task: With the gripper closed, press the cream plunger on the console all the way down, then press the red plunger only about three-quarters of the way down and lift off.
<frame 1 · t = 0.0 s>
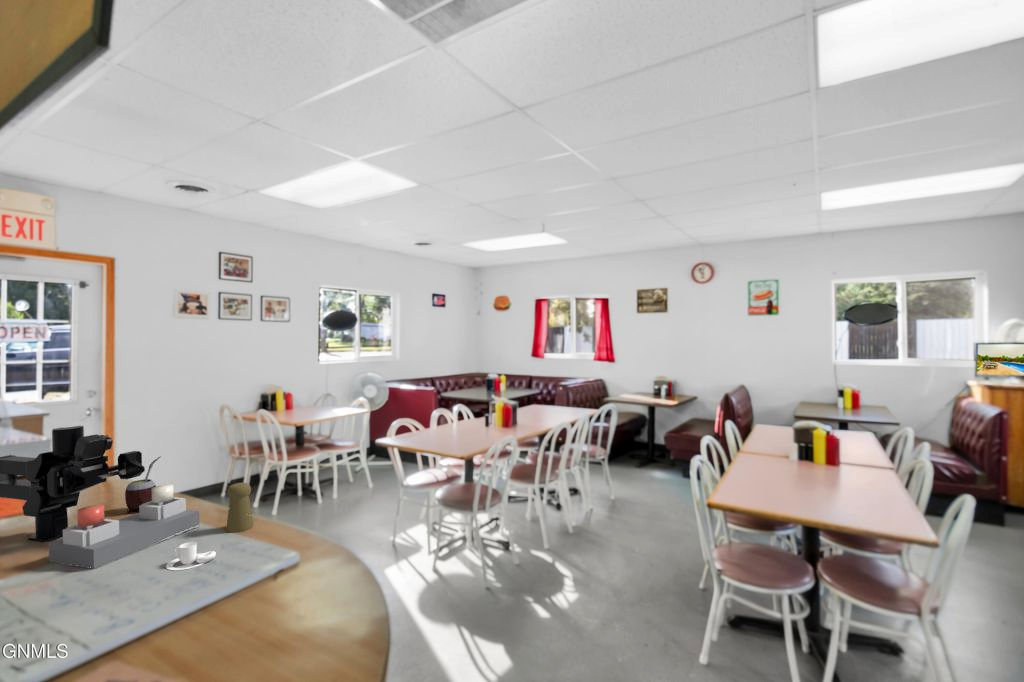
hand: (123, 474, 114), 17 cm above the counter, tool horizontal, fingers open, 9 cm apart
mate gourd: (143, 510, 140), on the counter
console: (130, 542, 116), on the counter
red plunger: (91, 515, 109), point 9 cm above the counter, slide at 0.0 cm
cork: (240, 528, 124), on the counter
cream plunger: (162, 493, 124), point 9 cm above the counter, slide at 0.0 cm
teacup and saucer: (190, 570, 102), on the counter
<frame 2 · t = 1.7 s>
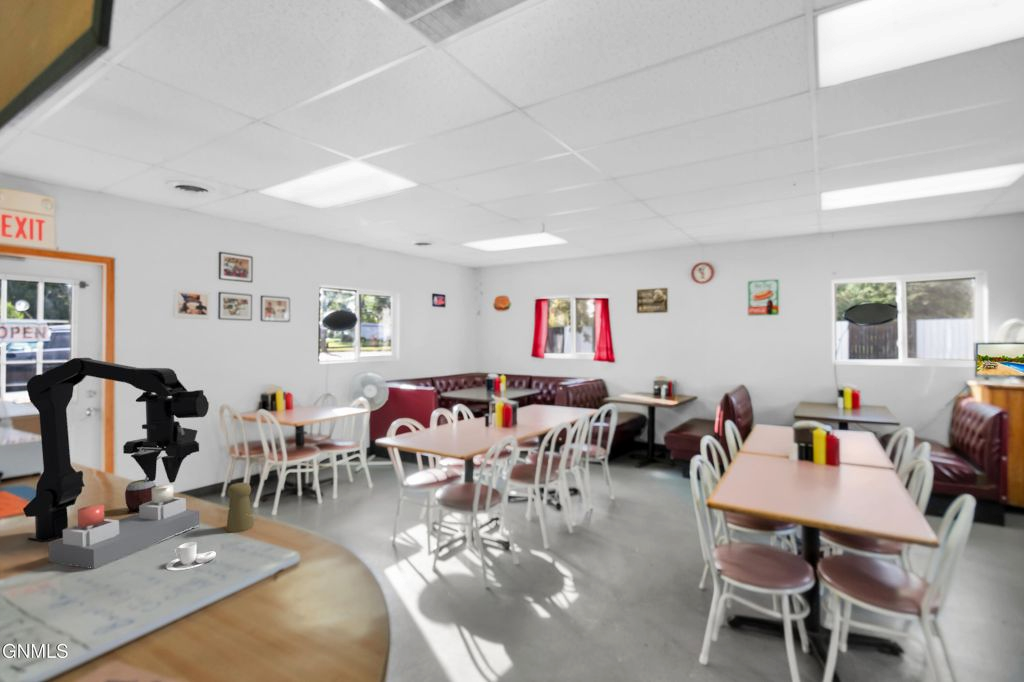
hand: (162, 481, 124), 12 cm above the counter, tool pointing down, fingers open, 6 cm apart
nothing on the counter moved.
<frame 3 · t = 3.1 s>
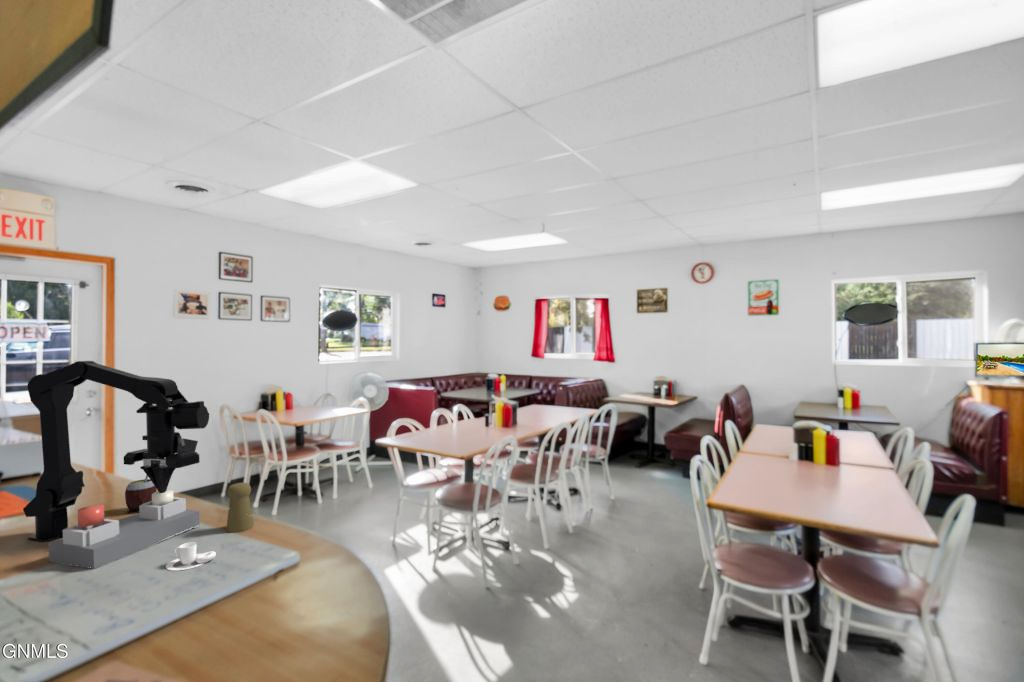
hand: (162, 492, 124), 9 cm above the counter, tool pointing down, fingers closed, pressing on cream plunger
cream plunger: (162, 499, 124), point 8 cm above the counter, slide at 1.4 cm, touching gripper
everything else where it was.
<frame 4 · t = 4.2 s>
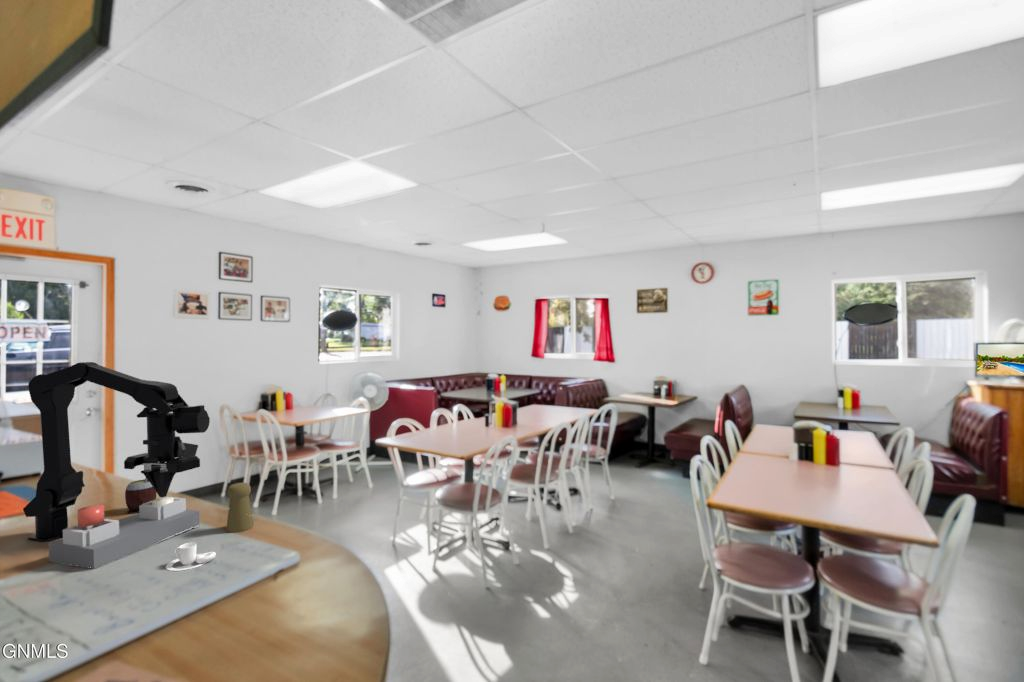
hand: (163, 496, 124), 8 cm above the counter, tool pointing down, fingers closed
cream plunger: (163, 506, 124), point 6 cm above the counter, slide at 3.2 cm
everything else where it was.
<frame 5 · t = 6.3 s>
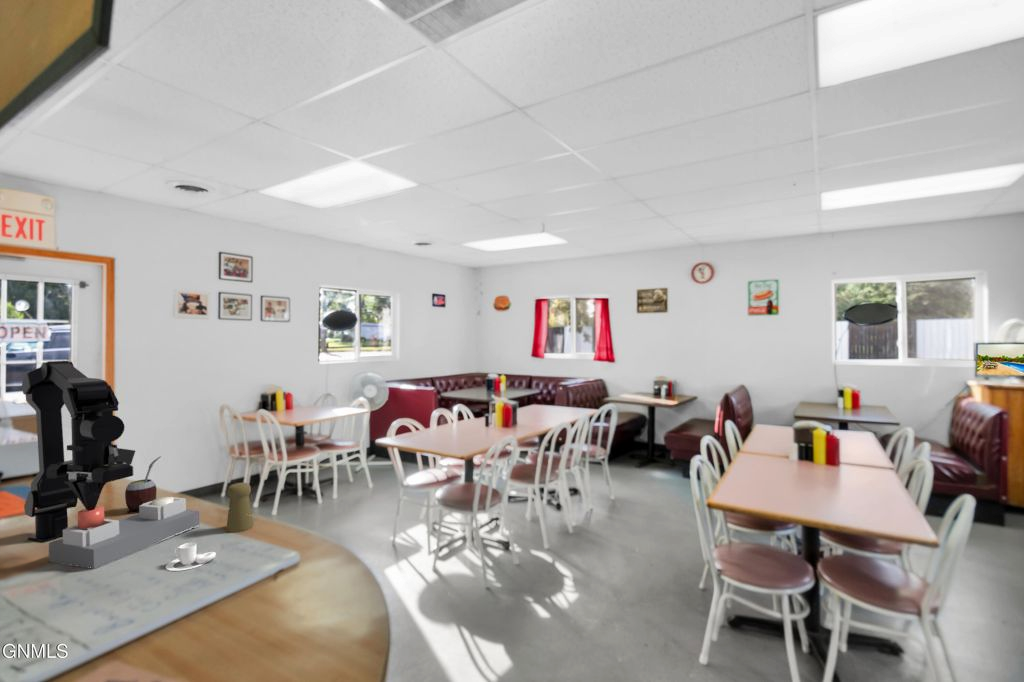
hand: (91, 510, 109), 10 cm above the counter, tool pointing down, fingers closed, pressing on red plunger
red plunger: (91, 517, 109), point 9 cm above the counter, slide at 0.4 cm, touching gripper
everything else where it was.
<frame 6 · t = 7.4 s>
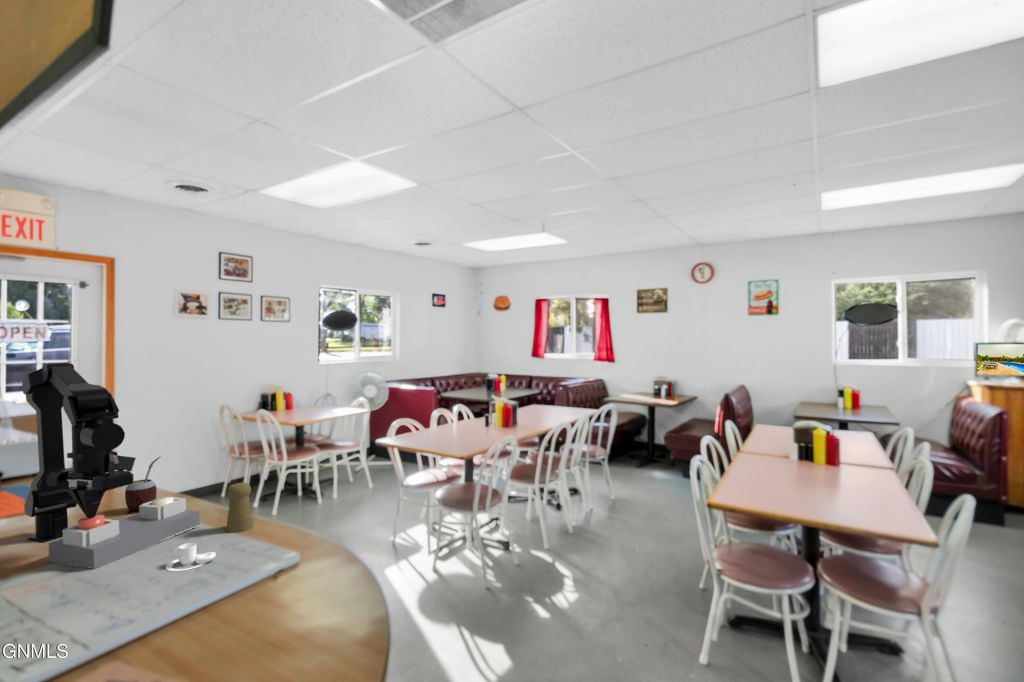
hand: (91, 517, 109), 9 cm above the counter, tool pointing down, fingers closed
red plunger: (91, 525, 109), point 7 cm above the counter, slide at 2.2 cm
everything else where it was.
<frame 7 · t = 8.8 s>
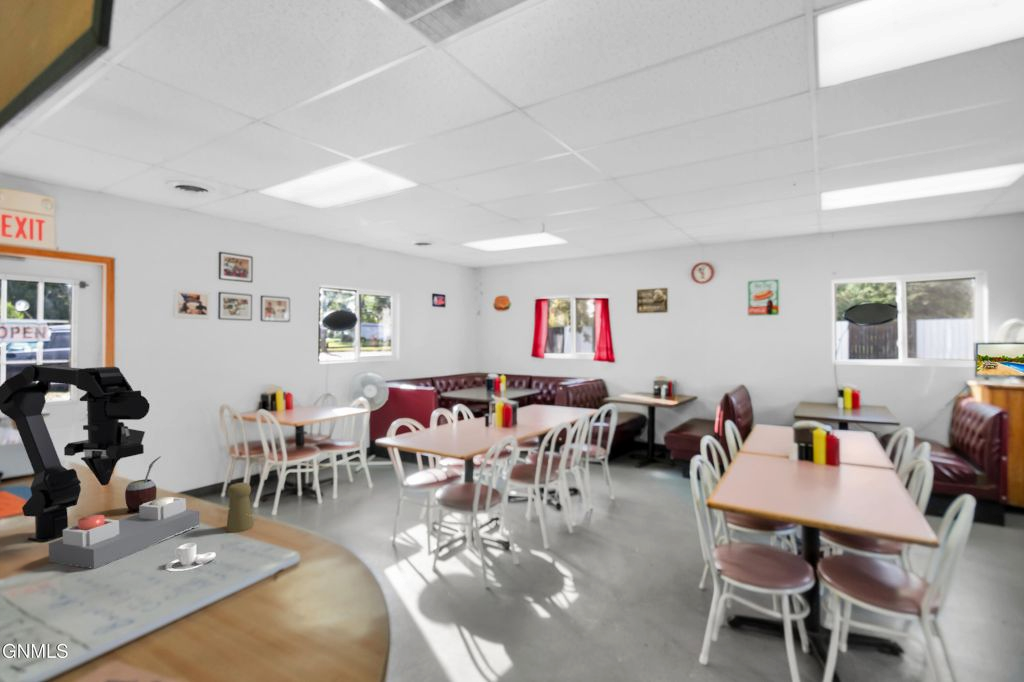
hand: (104, 484, 119), 13 cm above the counter, tool pointing down, fingers closed
nothing on the counter moved.
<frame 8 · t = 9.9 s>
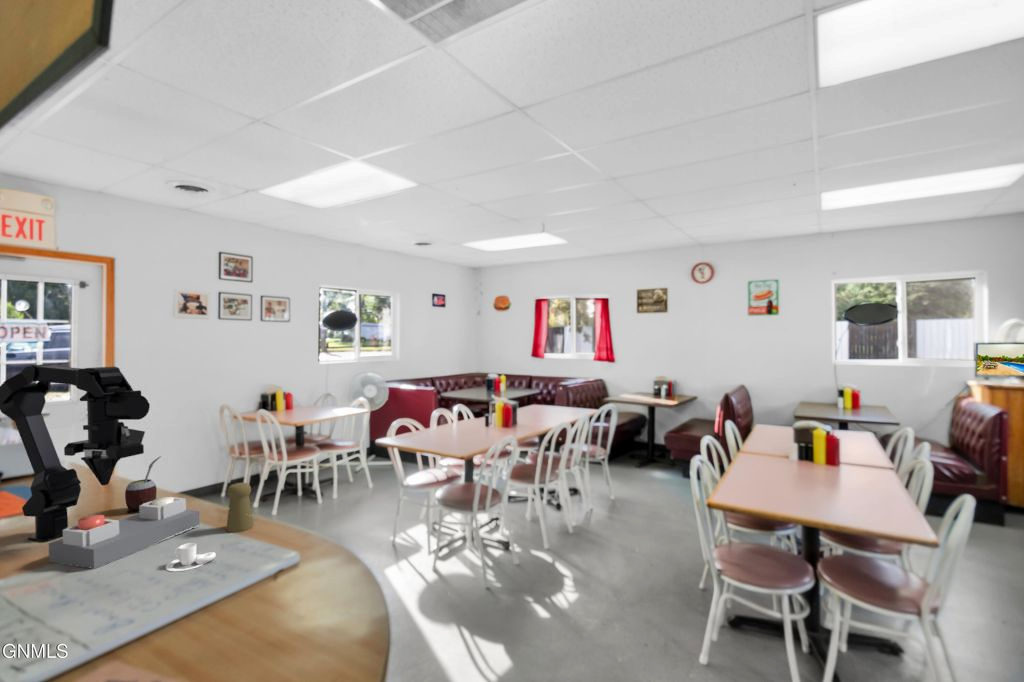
hand: (105, 484, 119), 13 cm above the counter, tool pointing down, fingers closed
nothing on the counter moved.
at the end: cream plunger slide at 3.2 cm; red plunger slide at 2.2 cm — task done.
